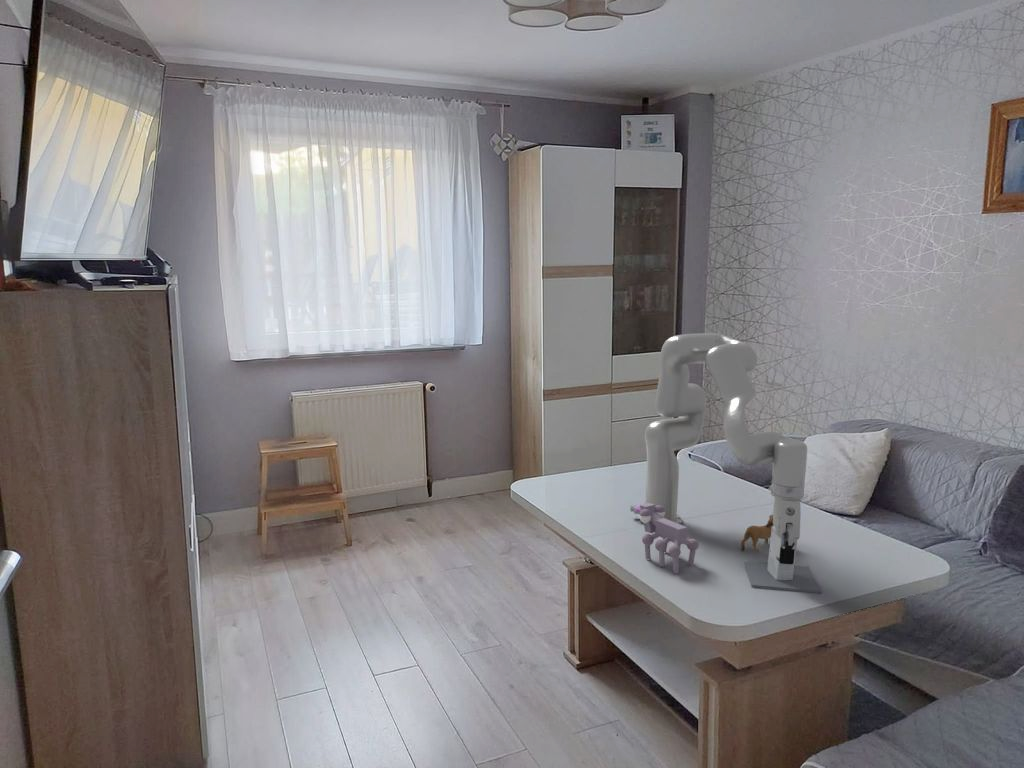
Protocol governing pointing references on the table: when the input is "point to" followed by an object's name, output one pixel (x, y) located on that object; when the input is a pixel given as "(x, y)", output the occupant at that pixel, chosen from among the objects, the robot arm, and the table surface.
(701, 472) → the table surface
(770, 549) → the skincare box
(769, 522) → the lion figurine
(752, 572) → the mat
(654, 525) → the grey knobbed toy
